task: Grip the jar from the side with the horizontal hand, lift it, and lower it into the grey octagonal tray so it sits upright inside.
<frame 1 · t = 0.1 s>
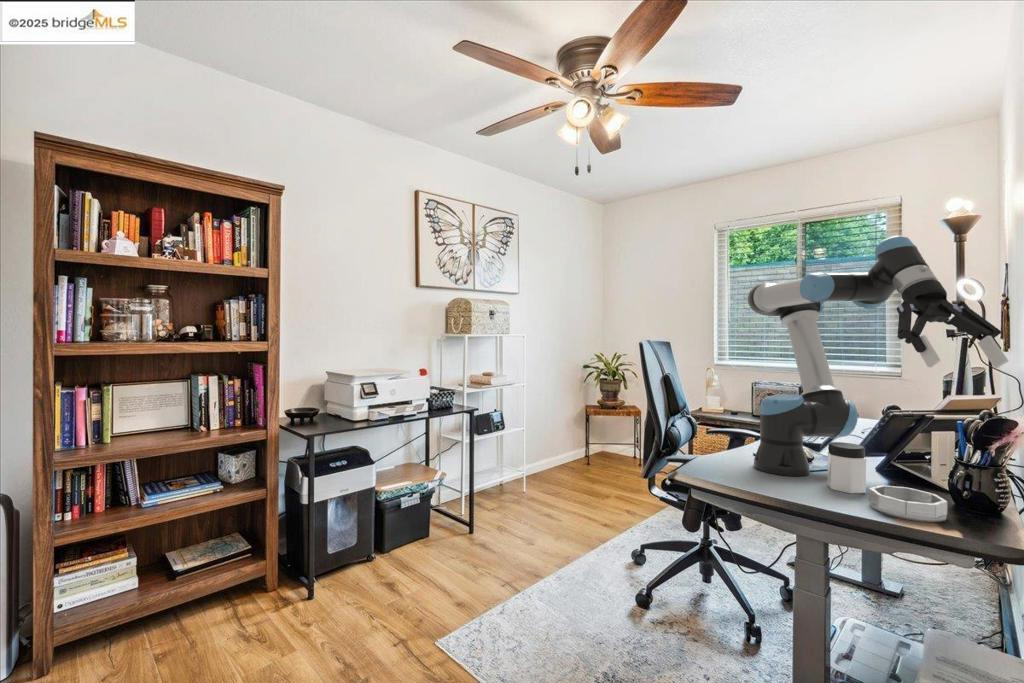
hand: (967, 364, 98), 36 cm above the table, tool tilted 35°, fingers open, 13 cm apart
grey octagonal tray: (906, 511, 111), on the table
jar: (846, 489, 127), on the table
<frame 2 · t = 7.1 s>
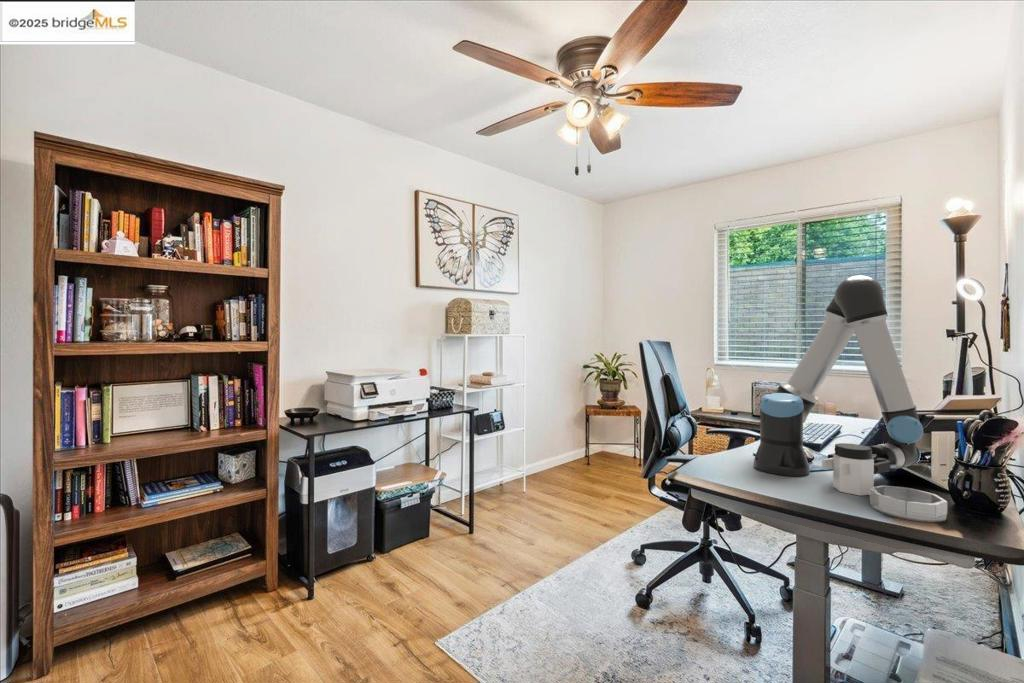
hand: (834, 467, 125), 7 cm above the table, tool horizontal, fingers open, 5 cm apart
jar: (852, 491, 126), on the table, touching gripper
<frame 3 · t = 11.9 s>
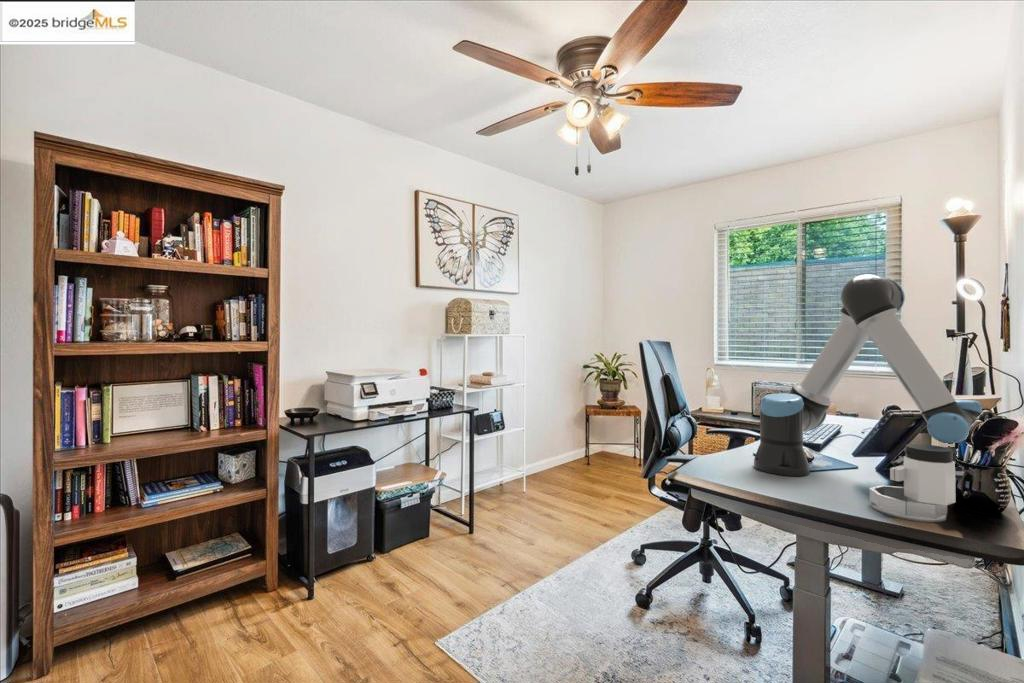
hand: (894, 474, 108), 9 cm above the table, tool horizontal, fingers closed
jar: (929, 500, 107), point 4 cm above the table, touching grey octagonal tray, gripper
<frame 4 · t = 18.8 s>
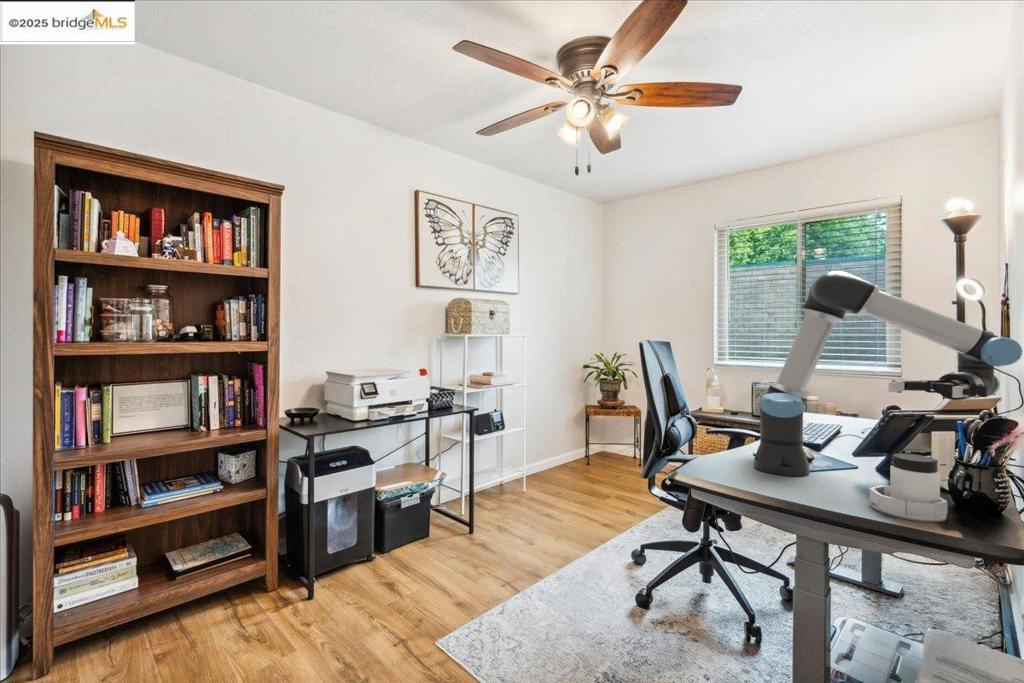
hand: (920, 389, 121), 28 cm above the table, tool horizontal, fingers open, 13 cm apart
jar: (914, 508, 110), point 1 cm above the table, touching grey octagonal tray
at the end: jar 1.5 cm off-centre on the grey octagonal tray, point 0.8 cm above the grey octagonal tray's base; jar tilted 0°; the gripper is holding nothing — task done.
